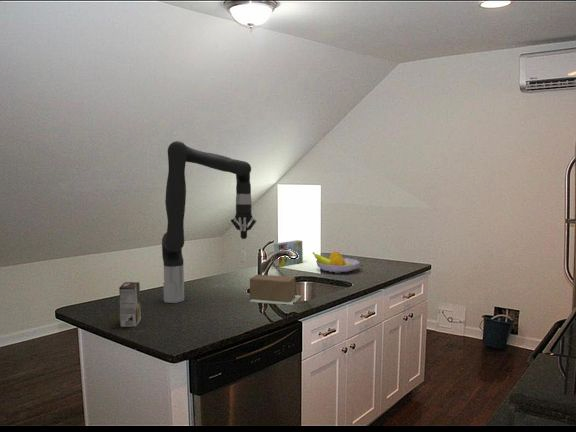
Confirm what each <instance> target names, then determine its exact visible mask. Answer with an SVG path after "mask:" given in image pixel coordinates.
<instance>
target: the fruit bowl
mask: <svg viewBox="0 0 576 432" xmlns="http://www.w3.org/2000/svg"><path fill="white" fill-rule="evenodd" d="M312 255H313V256H314V257H315V259H316V260H315V262H316V265H317V267H318V268H319V269H321V270H323V271H325V272H327V271H329V273H332V272H335V273H334V274H342V273H341V272H345V273H349V271H350V272H351V271H354V270H356V268H357V267H358V266H359V264H360V261H359V260H357V259H352V258H347V257H346V258H344V257H343V255H342V254H341V253H340V252H339V251H333V252H331V254H330V255H329V256H328V257H325V256H322V255H321V254H317V253H315V252H314V251H313V252H312Z"/></svg>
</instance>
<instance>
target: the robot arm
mask: <svg viewBox="0 0 576 432" xmlns="http://www.w3.org/2000/svg"><path fill="white" fill-rule="evenodd" d="M167 161H168V162H167V164H168V170H167V171H168V173H167V174H168V175H167V178H166V185H165V186H166V189H165V200H164V201H165V203H164V204H165V211H166V219H167V226H166V227H167V228H166V232H164V234H163V236H162V238H161V252H162V253H161V254H162V255H161V257H162V261H163V302H164V303H167V304H168V303H169V304H170V303H171V304H177V303H181V302H184V301H185V280H184V279H185V272H184V258H183V252H182V251H183V250H182V249H183V248H184V245H185V229H184V228H185V227H184V221H185V213H186V210H185V209H186V203H187V202H186V201H187V199H186V197H187V184H186V182H187V181H186V170H185V169H186V163H193V164H195V165H196V164H197V165H201V166H204V167H207V168H210V169H213V170H216V171H217V170H218V171H221V172H225V173H231V174H233V175H235V180H236V184H235V185H236V187H235V190H236V191H235V192H236V194H235V216H234V218H232V219H231V220H230V221H231V223H232V225H233V226H234V227H235V228H236V230H238V231H240V238H241V239H242V240H247V238H248V231H251V230H252V228H253V227H254V226H255V224H256V223H257V219H255V218H253V215H252V202H253V201H252V195H251V194H252V189H251V188H252V187H251V186H252V185H251V171H252V165H251V164H250V163H249V162H247V161H244V160H239V159H234V158H231V157H228V156H225V155H221V154H217V153H212V152H206V151H201V150H199V149H194V148H192V147H190V146H188V145H186V144H185V143H184V142H183V141H177V140H175V141H173V142H171V143H170V144H169V145H168V147H167ZM249 223H250V224H249Z"/></svg>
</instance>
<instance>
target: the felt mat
mask: <svg viewBox="0 0 576 432" xmlns="http://www.w3.org/2000/svg"><path fill="white" fill-rule="evenodd" d="M301 296H302V295H298V294H297V295H296V294H295V297H294V298H293V299H292V300H291V301H290V302H282V301H270V300H258V299H250V300H249V301H248V302H249V303H259V304H271V305H272V304H273V305H282V304H286V305H285V306H293V305H294V304H293V302H295V303H296V302H297V301H298V300H299V299H300V298H301Z"/></svg>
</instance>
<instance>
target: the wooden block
mask: <svg viewBox="0 0 576 432" xmlns="http://www.w3.org/2000/svg"><path fill="white" fill-rule="evenodd" d="M295 295H296V277H295V276H285V275H282V276H281V275H271V274H270V275H269V274H256V275H254V276H252V277H251V278H249V299H250V300H251V299H258V300H270V301H282V302H290V301H291V300H292V299H293V298H294V297H295Z"/></svg>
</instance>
